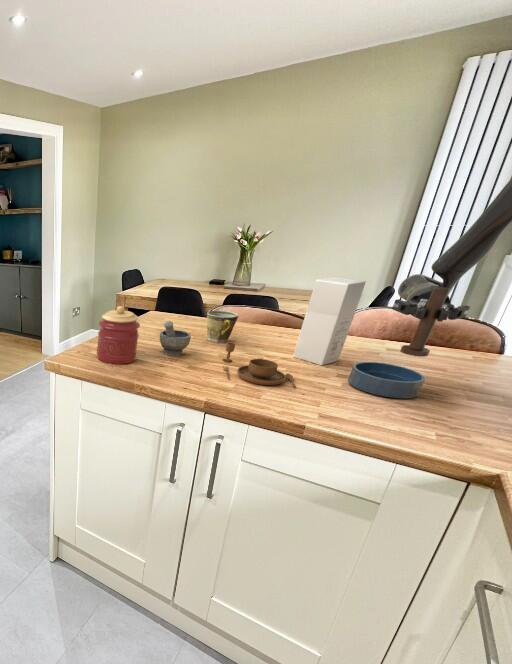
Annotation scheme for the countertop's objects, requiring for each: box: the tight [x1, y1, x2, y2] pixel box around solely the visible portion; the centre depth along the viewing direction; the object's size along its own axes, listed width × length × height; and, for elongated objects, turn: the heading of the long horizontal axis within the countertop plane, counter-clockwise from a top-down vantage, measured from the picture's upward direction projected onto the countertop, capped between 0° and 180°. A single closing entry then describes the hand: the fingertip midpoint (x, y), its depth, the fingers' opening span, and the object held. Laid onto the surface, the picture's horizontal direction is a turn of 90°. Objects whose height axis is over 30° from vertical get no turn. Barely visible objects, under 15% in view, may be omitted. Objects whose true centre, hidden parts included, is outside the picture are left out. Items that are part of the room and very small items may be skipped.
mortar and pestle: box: [159, 320, 192, 357], centre depth 134 cm, size 11×9×12 cm
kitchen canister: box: [96, 305, 141, 365], centre depth 131 cm, size 13×13×18 cm
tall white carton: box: [292, 276, 367, 366], centre depth 123 cm, size 9×9×25 cm
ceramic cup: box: [206, 310, 239, 344], centre depth 144 cm, size 13×10×10 cm
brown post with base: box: [399, 287, 450, 358], centre depth 95 cm, size 5×5×16 cm
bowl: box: [347, 361, 426, 399], centre depth 106 cm, size 14×14×5 cm
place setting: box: [222, 341, 296, 388], centre depth 118 cm, size 18×20×6 cm
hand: (432, 316), depth 92 cm, fingers closed on brown post with base, 2 cm apart
